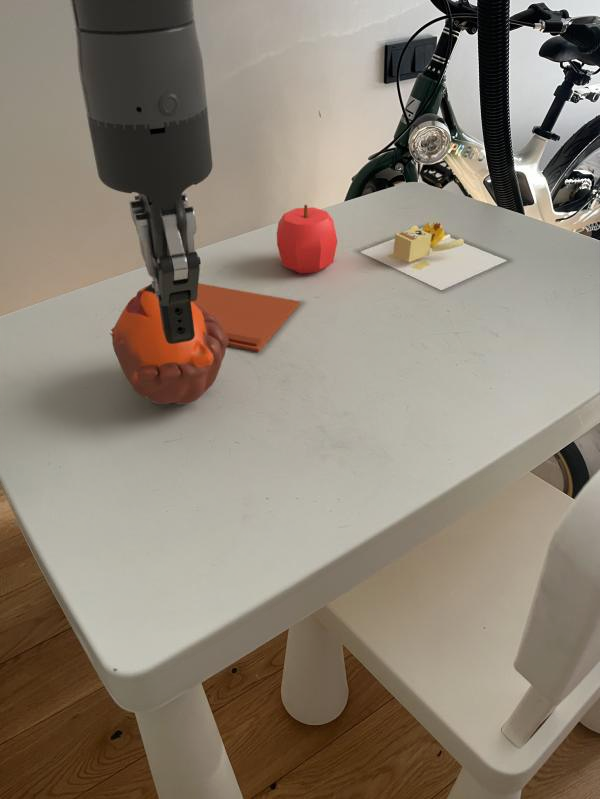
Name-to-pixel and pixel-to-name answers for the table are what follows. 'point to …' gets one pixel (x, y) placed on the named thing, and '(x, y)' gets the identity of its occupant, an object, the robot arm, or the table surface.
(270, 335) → the book
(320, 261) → the apple
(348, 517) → the table surface
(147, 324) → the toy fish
